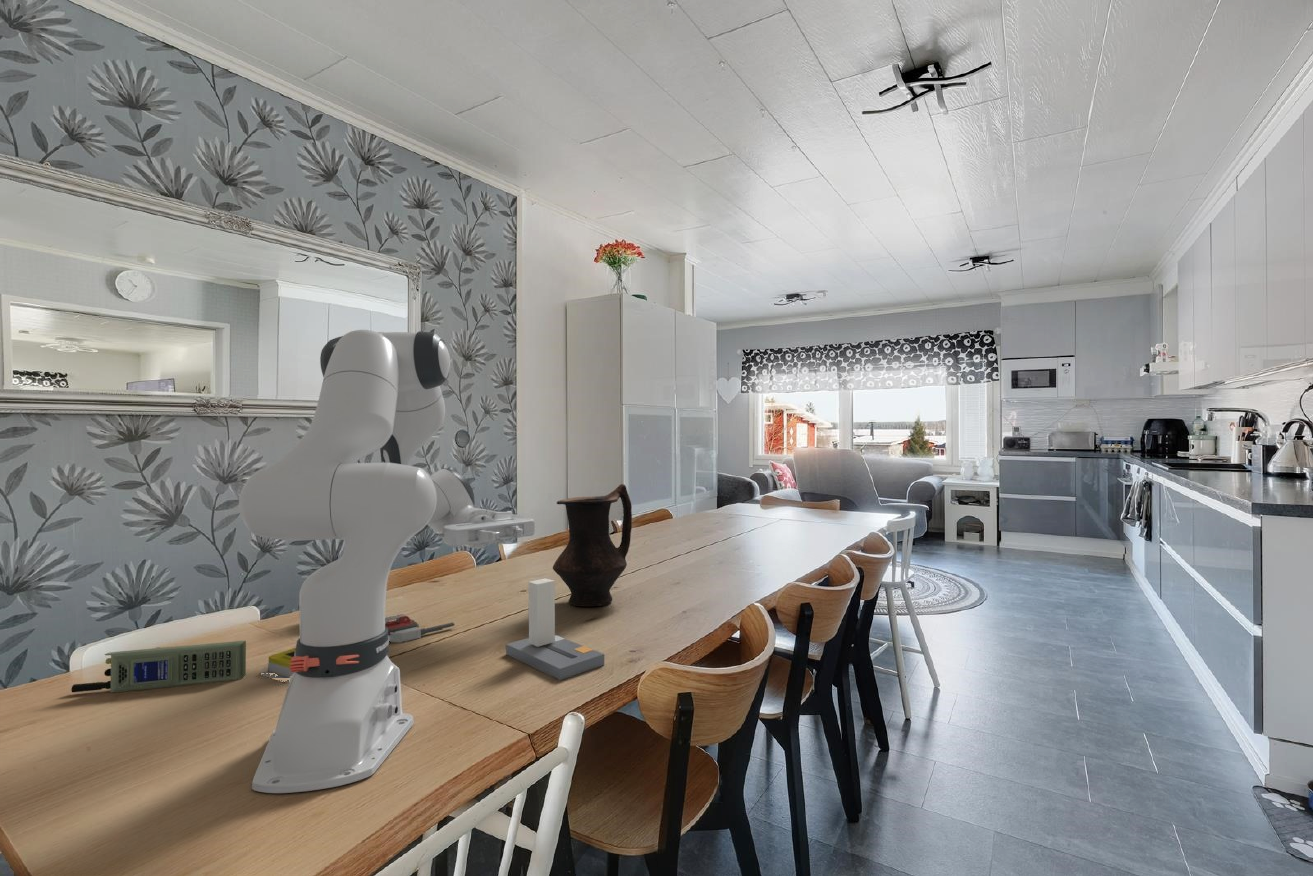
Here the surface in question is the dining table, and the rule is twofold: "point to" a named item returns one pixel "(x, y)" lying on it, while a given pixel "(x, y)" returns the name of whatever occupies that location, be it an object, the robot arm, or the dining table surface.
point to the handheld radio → (172, 667)
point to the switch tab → (541, 612)
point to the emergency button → (280, 665)
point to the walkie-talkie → (407, 628)
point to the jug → (593, 548)
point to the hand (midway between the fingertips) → (508, 535)
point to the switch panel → (556, 657)
